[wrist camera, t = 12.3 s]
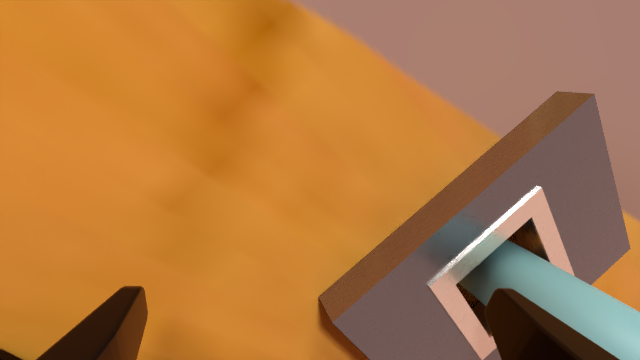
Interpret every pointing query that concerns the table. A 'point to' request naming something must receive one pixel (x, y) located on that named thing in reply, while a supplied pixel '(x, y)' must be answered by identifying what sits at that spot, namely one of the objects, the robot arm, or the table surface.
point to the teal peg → (559, 297)
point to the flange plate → (487, 237)
